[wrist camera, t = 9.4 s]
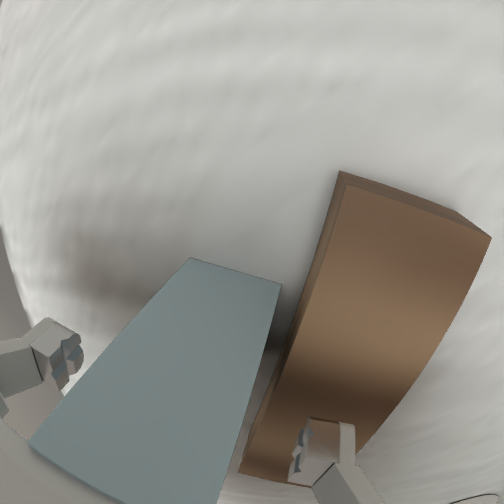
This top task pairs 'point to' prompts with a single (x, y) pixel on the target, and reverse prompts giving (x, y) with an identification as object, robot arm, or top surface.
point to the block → (167, 392)
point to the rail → (365, 316)
